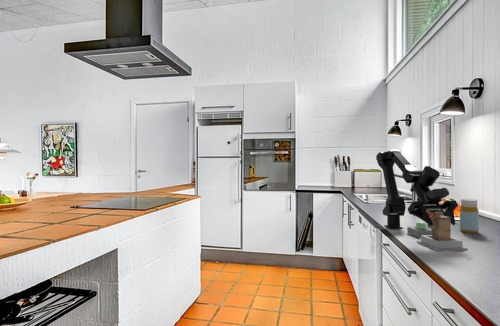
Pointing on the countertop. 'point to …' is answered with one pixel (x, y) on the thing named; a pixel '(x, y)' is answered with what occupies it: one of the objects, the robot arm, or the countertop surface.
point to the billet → (441, 228)
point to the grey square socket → (441, 243)
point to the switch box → (418, 231)
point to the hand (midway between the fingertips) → (443, 224)
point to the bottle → (469, 216)
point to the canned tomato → (434, 214)
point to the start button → (421, 225)
